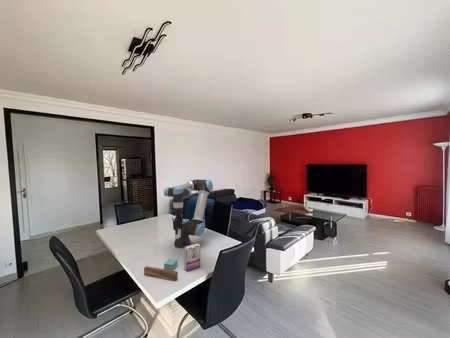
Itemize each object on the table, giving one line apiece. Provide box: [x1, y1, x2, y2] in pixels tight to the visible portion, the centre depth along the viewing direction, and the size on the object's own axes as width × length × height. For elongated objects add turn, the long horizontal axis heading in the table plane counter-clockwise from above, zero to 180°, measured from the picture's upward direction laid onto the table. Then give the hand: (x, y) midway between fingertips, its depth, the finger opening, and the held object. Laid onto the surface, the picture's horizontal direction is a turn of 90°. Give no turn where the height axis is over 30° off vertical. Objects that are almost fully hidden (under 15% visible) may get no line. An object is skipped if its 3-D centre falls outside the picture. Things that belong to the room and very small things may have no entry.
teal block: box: [163, 258, 178, 271], centre depth 145 cm, size 7×7×4 cm
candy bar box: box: [183, 243, 201, 273], centre depth 145 cm, size 11×5×16 cm, turn 126°
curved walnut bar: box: [143, 265, 179, 282], centre depth 133 cm, size 2×24×5 cm, turn 74°
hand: (177, 237), depth 155 cm, fingers open, 2 cm apart
